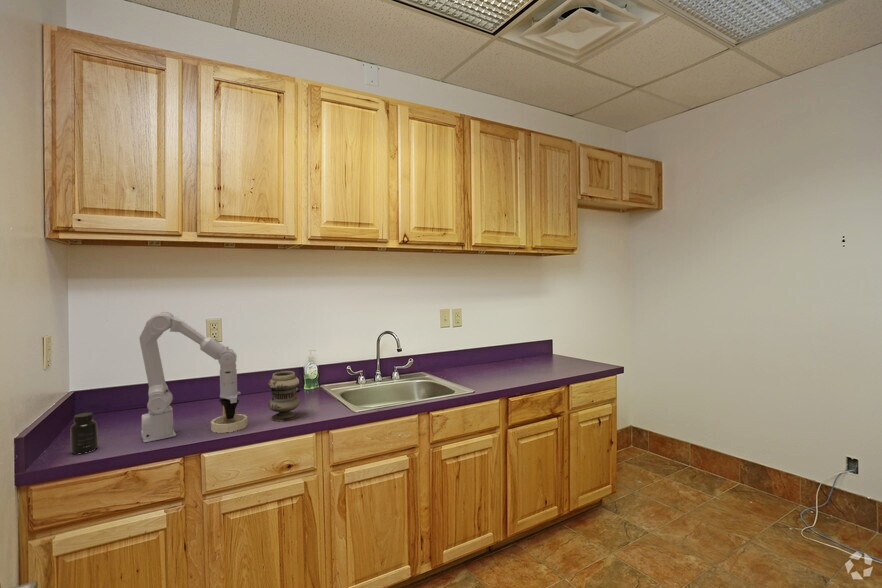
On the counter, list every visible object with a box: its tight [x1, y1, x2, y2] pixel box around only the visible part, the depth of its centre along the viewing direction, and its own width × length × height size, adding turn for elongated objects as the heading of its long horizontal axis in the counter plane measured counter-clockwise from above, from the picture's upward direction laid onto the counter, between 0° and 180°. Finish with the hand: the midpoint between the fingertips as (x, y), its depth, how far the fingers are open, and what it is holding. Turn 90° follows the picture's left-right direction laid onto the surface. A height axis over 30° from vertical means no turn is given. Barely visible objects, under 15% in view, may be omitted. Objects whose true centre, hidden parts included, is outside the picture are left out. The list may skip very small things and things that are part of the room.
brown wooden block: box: [222, 406, 237, 424], centre depth 160 cm, size 4×2×8 cm, turn 130°
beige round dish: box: [210, 413, 249, 434], centre depth 161 cm, size 12×12×3 cm
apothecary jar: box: [267, 370, 301, 422], centre depth 171 cm, size 12×12×18 cm
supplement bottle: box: [69, 412, 99, 455], centre depth 139 cm, size 7×7×12 cm
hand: (229, 417), depth 160 cm, fingers closed on brown wooden block, 2 cm apart
